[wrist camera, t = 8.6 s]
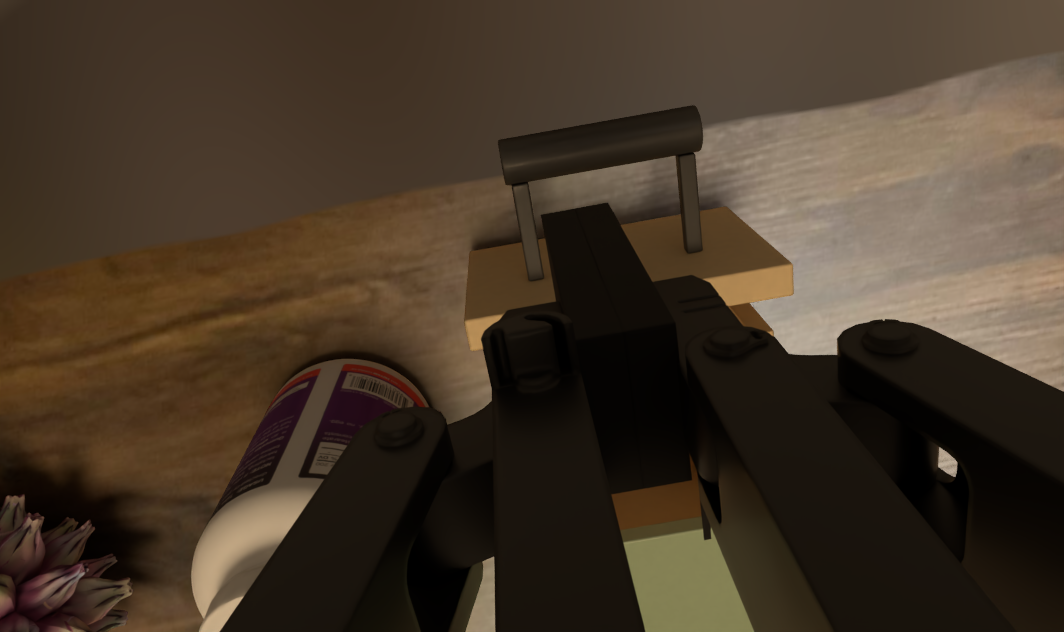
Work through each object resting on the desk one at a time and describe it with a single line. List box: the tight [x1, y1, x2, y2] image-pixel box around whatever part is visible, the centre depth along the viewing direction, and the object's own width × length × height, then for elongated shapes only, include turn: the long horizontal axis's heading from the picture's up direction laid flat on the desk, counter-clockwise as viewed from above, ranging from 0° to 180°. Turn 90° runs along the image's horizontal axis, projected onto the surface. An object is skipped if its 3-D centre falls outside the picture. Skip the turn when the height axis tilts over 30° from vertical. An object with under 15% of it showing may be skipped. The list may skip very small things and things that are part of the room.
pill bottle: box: [191, 359, 429, 632], centre depth 30 cm, size 8×8×14 cm
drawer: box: [464, 106, 794, 530], centre depth 31 cm, size 19×11×8 cm, turn 9°
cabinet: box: [620, 516, 754, 632], centre depth 36 cm, size 15×13×10 cm
